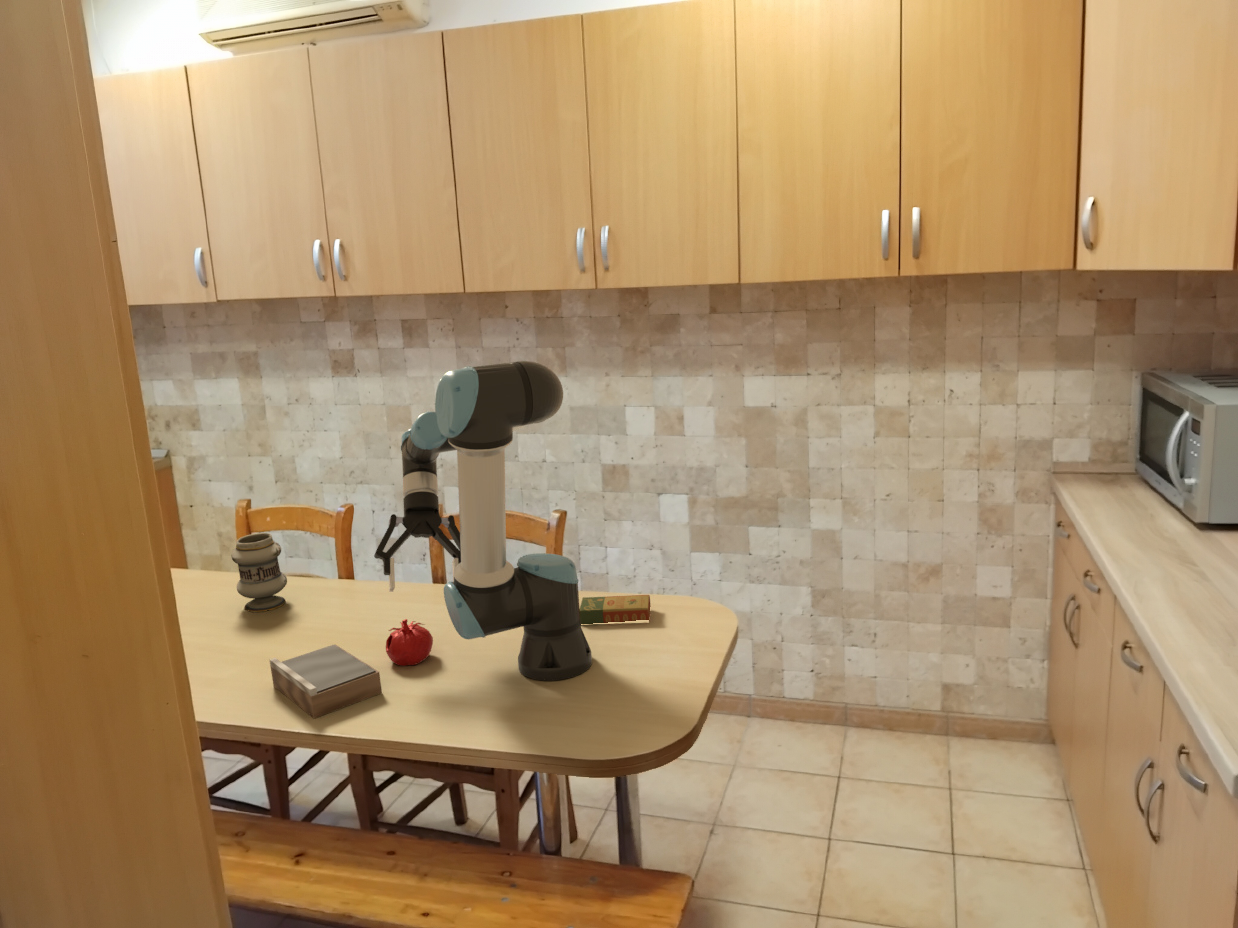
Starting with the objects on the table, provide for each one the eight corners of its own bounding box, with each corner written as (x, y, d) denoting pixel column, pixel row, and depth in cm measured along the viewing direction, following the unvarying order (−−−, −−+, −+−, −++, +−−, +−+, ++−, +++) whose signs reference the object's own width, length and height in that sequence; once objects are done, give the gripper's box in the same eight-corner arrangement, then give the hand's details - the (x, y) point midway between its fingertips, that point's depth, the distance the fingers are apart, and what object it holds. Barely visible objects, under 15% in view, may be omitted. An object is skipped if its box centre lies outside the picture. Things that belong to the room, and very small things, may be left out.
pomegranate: (443, 651, 205) (438, 611, 203) (418, 671, 196) (413, 629, 194) (403, 647, 208) (399, 608, 206) (378, 667, 199) (372, 625, 197)
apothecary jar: (230, 608, 239) (219, 540, 235) (272, 593, 248) (262, 527, 244) (257, 617, 232) (246, 547, 228) (299, 601, 241) (289, 533, 237)
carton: (649, 624, 213) (648, 607, 212) (579, 627, 214) (577, 609, 213) (650, 610, 221) (649, 593, 220) (582, 612, 222) (581, 595, 221)
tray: (381, 692, 187) (378, 665, 186) (314, 718, 178) (310, 689, 177) (337, 663, 202) (334, 638, 200) (273, 686, 193) (269, 659, 192)
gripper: (472, 504, 216) (478, 593, 207) (360, 501, 206) (361, 595, 198) (480, 491, 209) (486, 583, 201) (364, 488, 200) (366, 584, 192)
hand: (424, 589), depth 199 cm, fingers open, 13 cm apart
